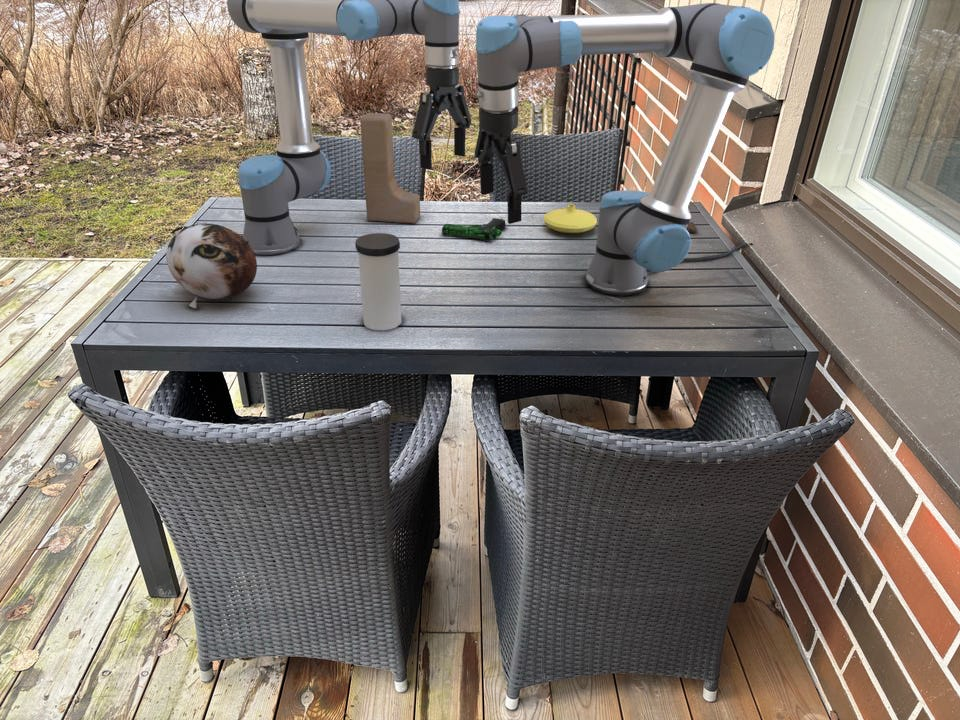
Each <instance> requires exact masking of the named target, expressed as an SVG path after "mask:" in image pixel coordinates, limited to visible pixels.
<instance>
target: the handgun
mask: <svg viewBox="0 0 960 720" xmlns="http://www.w3.org/2000/svg"><path fill="white" fill-rule="evenodd" d="M505 228H506V220H505V219H503V218H497V217H492V219H491V220H490V221H489V222H488V223H483V224H482V225H479V224H472V225H459V224H453V223H445V224H443V226H442V227H441V235H446V236H454V237H462V238H469V239H470V238H471V239H474V240H479V241H484V242H491V241H492V240H494V239H495V238H497V237H500V236H502V230H504V229H505Z"/></svg>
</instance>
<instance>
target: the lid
mask: <svg viewBox="0 0 960 720" xmlns="http://www.w3.org/2000/svg"><path fill="white" fill-rule="evenodd" d="M354 245H355V251H356V252H357V253H358V252H359V253H361V254H363V255H368V256H385V255H389V254H393V253H395V252H397V251H398V252H399V250H400V248H401V243H400V237H398V236H396V235H394V234H392V233H385V232H374V233H367V234H363V235H361V236H359V237H357V238H356V240H355V244H354Z"/></svg>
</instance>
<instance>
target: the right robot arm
mask: <svg viewBox="0 0 960 720" xmlns="http://www.w3.org/2000/svg"><path fill="white" fill-rule="evenodd" d="M475 31H476V32H475V52H476V53H475V54H476V69H477V70H476V71H477V91H478V92H476V93H475V95H476V98H478V106H479V108H478V134H477V139H476V143H475V148H474V154H473V155H474V158H475V159H477V162H478V164H479V183H480V186H479V187H480V195H481V196H485V195H489V194H494V190H495V189H494V164H493V162H494V161H495V160H494V156H496V159H497V162H499V164H501V168H502V171H503V174H504V175H503V176H504V179H505V182H506V185H507V188H508V192H507V193H506V197H507V202H506V203H507V223H508V225H511V224H512V225H513V224H515V223H519V222H522V196H524V195H528V193H529V191H528V187H527V182H526V177H525V176H526V175H525V171H524V166H523V160H522V156H521V143H520V141H516V142H514V141H513V137H512V134H513V131H514V130H516V129H518V126H519V107H518V106H519V75H520V73H526V72H530V71H537V70H544V69H551V68H557V67H560V68H563V67H565V66H568V65H572V64H576V63H577V62H578V61H579V60H580V58H581V56H598V55H599V56H600V55H601V56H602V55H625V54H626V55H627V54H653V53H654V55H656V56H657V57H658V58H674V59H680V60H684V61H688V62H691V65H690V68H689V70H688V71H689V74H690V77H691V78H692V84H691V85H690V89H689V92H688V94H687V96H686V99H685V102H684V104H683V107H682V110H681V112H680V115H679V118H678V120H677V122H676V125H675V127H674V130H673V133H672V135H671V138H670V141H669V143H668V146H667V149H666V151H665V154H664V156H663V159H662V162H661V164H660V167H659V170H658V172H657V175H656V176H655V177H656V178H655V180H654V183H653V186H652V188H651V190H650V193H648V192H646V191H641V190H631V189H629V190H628V189H627V190H626V189H623V190H613V191H609V192H606V193H604V194H603V196H601V199H600V204H599V207H598V208H599V209H598V210H599V214H598V222H597V224H598V226H597V236H596V244H595V251H594V254H593V257H592V259H591V261H590V263H589V266H588V268H587V269H586V273H585V284H586V285H587V286H588V287H589V288H590V289H591V290H594V291H595V292H598V293H601V294H605V295H611V296H619V297H621V296H623V297H625V296H633V295H637V294H641V293H642V292H644V291H645V290H646V289H647V288H648V281H649V277H648V273H664V272H668V271H670V270H672V268H675V267H677V266H679V265H680V264H681V263H682V262H683V263H684V262H699V261H706V260H707V261H708V260H715V259H719V258H724V257H726V256H729V255H730V254H732V253H733V252H735V251H736V250H738V249H740V248H742V247H743V246H745V245H746V244H743V242H740V243H739V244H737V245H736V246H734V247H735V248H734V247H732V248H731V249H732V250H731V249H730V250H731V251H730V250H728V251H729V252H728V251H726V252H727V253H726V252H724V253H725V254H724V253H719V254H715V255H708V256H707V255H706V256H701V257H687V256H688V254H689V252H690V250H691V245H692V239H691V235H690V232H688V231H687V226H688V224H689V222H691V219H692V214H691V212H690V209H689V205H690V203H691V200H692V198H693V196H694V193H695V190H696V188H697V187H698V183H699V181H700V178H701V176H702V173H703V170H705V169H704V168H705V167H706V163H707V161H708V159H709V157H710V154H711V151H712V150H713V146H714V144H715V141H716V140H717V137H718V133H719V132H720V129H721V127H722V124H723V123H724V119H725V117H726V114H727V112H728V110H729V107H730V105H731V102H732V100H733V97H734V95H735V94H736V93H739V92H740V91H742V90H744V89H746V86H747V83H748V81H749V79H750V77H752V76H754V75H756V74H758V73H759V71H760V70H763V69H764V68H765V67H766V65H768V63H769V61H770V59H771V57H772V54H773V52H774V49H775V48H774V47H775V31H774V29H773V25H772V22H771V20H770V19H769V17H768V16H767V15H766V14H765V13H763V12H762V11H759V10H757V9H754V8H751V7H746V6H743V5H741V6H739V5H732V4H731V5H730V4H721V3H716V2H705V3H697V4H689V5H681V6H667V7H666V6H664V7H661V8H660V9H659V10H658V11H657V12H644V13H641V12H639V13H638V12H637V13H602V14H601V13H599V14H565V15H564V14H563V15H562V14H561V15H560V14H559V15H529V16H528V15H525V14H513V15H504V14H503V15H490V16H486V17H483V18H482V19H480V20H479V21H478V23H477V25H476V30H475ZM733 248H734V249H733Z"/></svg>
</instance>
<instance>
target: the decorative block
mask: <svg viewBox="0 0 960 720" xmlns="http://www.w3.org/2000/svg"><path fill="white" fill-rule="evenodd" d="M359 124H360V137H361V151H362V164H363V165H362V166H363V180H364V194H365V209H366V219H367V221H371V222H388V223H403V224H415V223H416V222H417V221H418V219H419V218H420V216H421V195H420V194H418V193H414V192H410V191H405V190H404V189H403V188H401V187H400V186H399V183H398V181H397V179H396V177H395V176H396V175H395V161H394V158H395V157H394V138H393V137H394V136H393V135H394V134H393V116H392V114H390V113H379V112H367V113H365V114H364V115H363V116H361V117H360V119H359Z"/></svg>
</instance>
